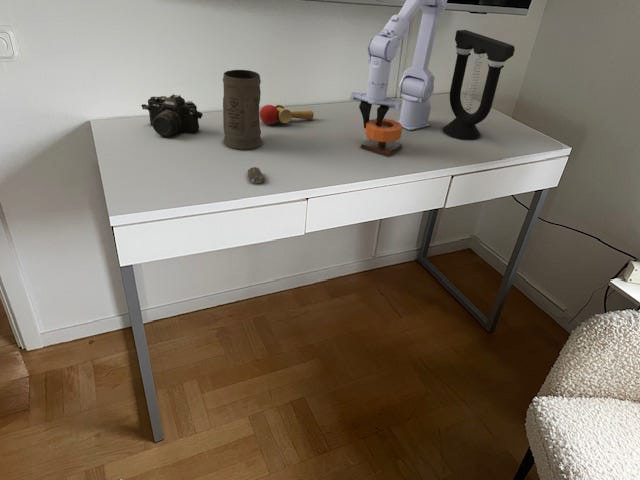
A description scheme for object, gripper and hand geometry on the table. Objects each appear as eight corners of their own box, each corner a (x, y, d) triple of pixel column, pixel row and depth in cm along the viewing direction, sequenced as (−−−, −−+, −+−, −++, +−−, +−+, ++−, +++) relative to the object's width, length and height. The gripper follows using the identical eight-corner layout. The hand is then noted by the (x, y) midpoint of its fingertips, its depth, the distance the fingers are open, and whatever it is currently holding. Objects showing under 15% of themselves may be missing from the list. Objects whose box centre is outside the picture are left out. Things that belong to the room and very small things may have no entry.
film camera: (135, 137, 140) (130, 102, 135) (146, 122, 150) (142, 89, 145) (199, 141, 141) (197, 106, 136) (206, 125, 152) (204, 93, 146)
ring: (383, 127, 151) (384, 116, 149) (407, 137, 145) (409, 126, 143) (358, 133, 146) (359, 122, 144) (382, 144, 139) (383, 133, 138)
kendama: (303, 118, 167) (254, 116, 158) (308, 101, 163) (258, 98, 154) (313, 130, 162) (262, 129, 153) (318, 113, 158) (267, 110, 149)
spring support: (429, 125, 167) (448, 30, 150) (456, 121, 172) (478, 29, 156) (471, 148, 152) (498, 46, 135) (500, 143, 157) (529, 44, 141)
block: (259, 172, 127) (259, 166, 126) (265, 183, 123) (265, 176, 122) (245, 174, 126) (245, 167, 125) (251, 184, 122) (251, 178, 121)
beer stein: (253, 153, 137) (255, 79, 127) (217, 147, 138) (216, 73, 128) (269, 137, 150) (272, 69, 140) (235, 132, 152) (236, 64, 142)
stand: (375, 139, 153) (378, 118, 149) (401, 147, 149) (405, 126, 145) (360, 147, 146) (363, 126, 143) (388, 156, 142) (391, 135, 139)
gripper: (348, 80, 137) (343, 127, 145) (399, 90, 133) (391, 138, 140) (357, 74, 143) (352, 120, 150) (405, 84, 138) (398, 130, 146)
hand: (371, 128), depth 146 cm, fingers closed on ring, 3 cm apart
